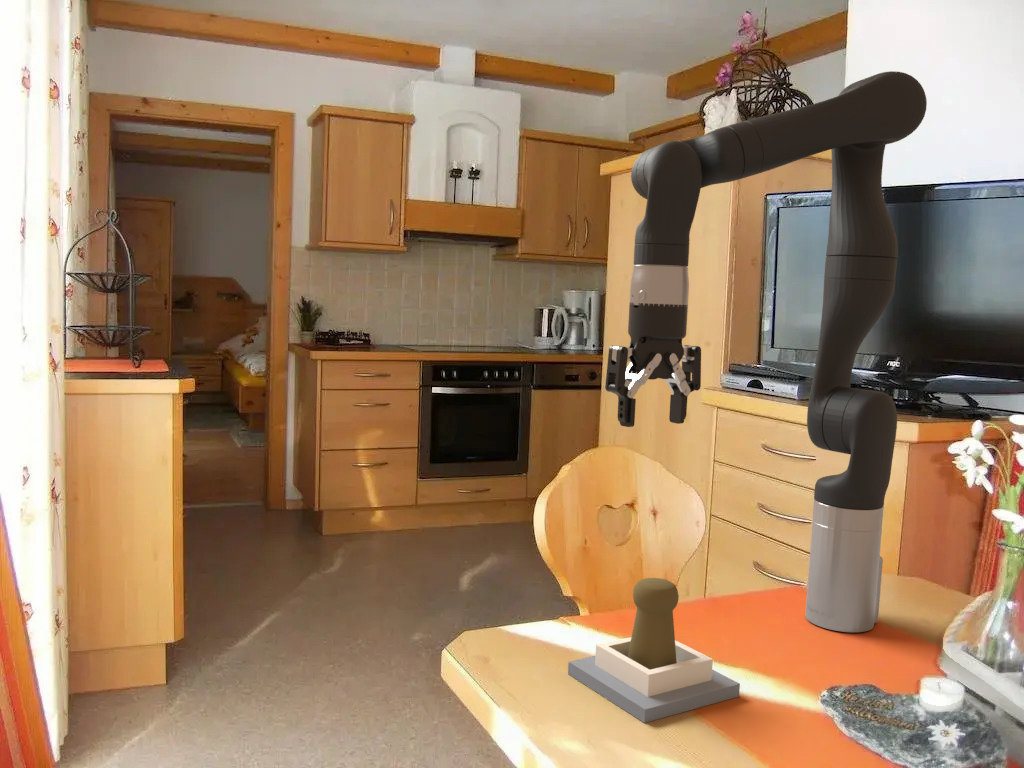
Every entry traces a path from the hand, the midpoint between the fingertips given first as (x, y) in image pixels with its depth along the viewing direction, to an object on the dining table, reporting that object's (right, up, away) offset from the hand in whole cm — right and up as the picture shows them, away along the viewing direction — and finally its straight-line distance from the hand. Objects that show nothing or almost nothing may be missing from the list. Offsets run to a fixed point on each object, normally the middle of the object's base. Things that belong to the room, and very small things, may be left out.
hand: (651, 424), depth 122 cm
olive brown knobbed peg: (-2, -28, -14) cm, 32 cm away
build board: (-2, -30, -14) cm, 33 cm away
